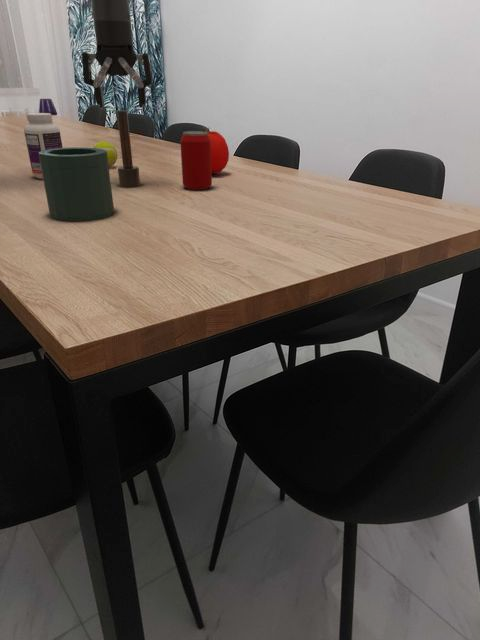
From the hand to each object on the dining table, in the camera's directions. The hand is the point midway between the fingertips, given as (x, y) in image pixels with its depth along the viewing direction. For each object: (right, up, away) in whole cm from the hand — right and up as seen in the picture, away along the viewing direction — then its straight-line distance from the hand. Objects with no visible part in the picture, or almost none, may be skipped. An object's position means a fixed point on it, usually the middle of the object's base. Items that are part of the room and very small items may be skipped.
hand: (121, 107), depth 111 cm
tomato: (+16, -7, +23) cm, 29 cm away
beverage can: (+16, -16, +7) cm, 23 cm away
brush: (0, -15, +8) cm, 17 cm away
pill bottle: (-22, -10, +15) cm, 29 cm away
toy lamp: (-28, 0, +33) cm, 43 cm away
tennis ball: (-12, -3, +29) cm, 32 cm away
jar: (-3, -28, -16) cm, 32 cm away
